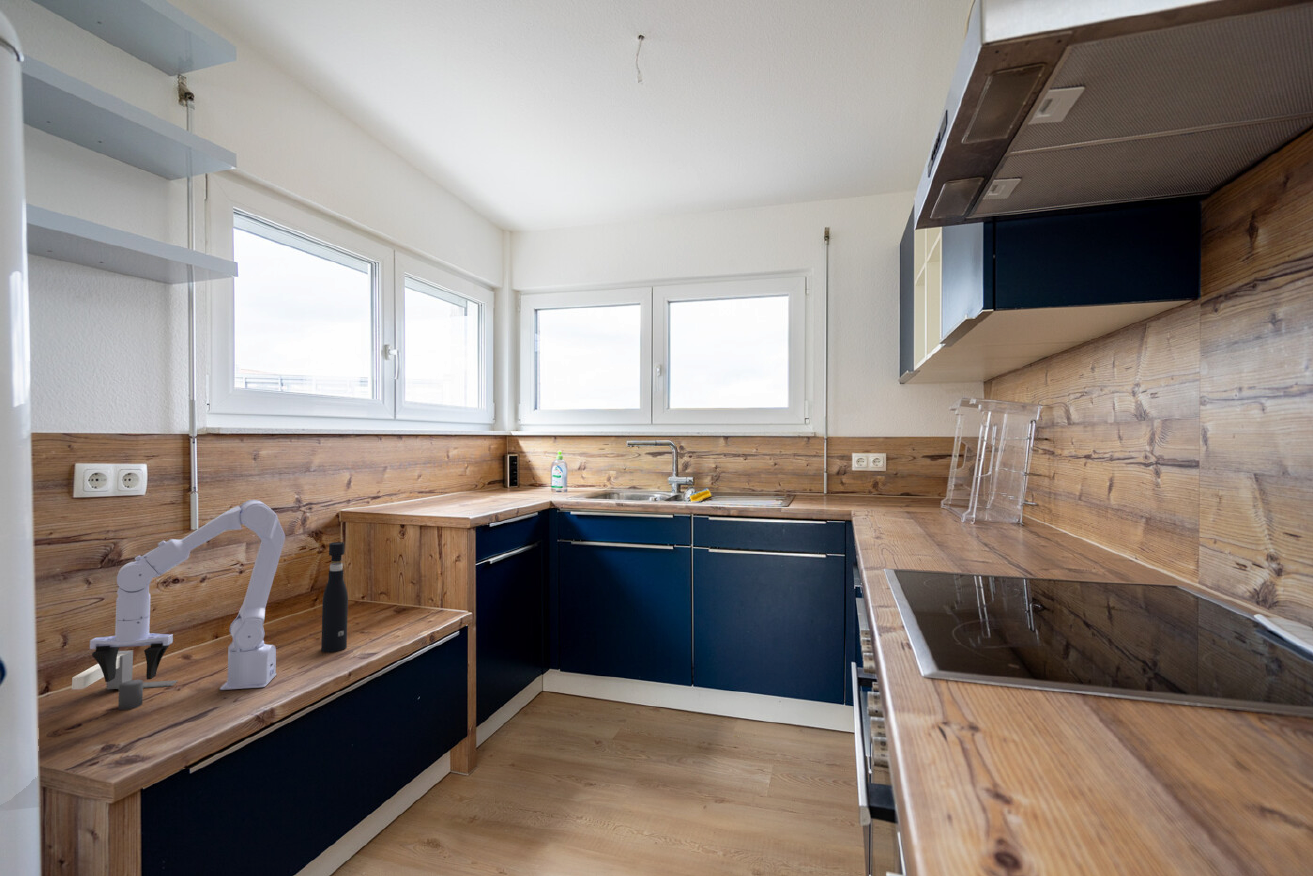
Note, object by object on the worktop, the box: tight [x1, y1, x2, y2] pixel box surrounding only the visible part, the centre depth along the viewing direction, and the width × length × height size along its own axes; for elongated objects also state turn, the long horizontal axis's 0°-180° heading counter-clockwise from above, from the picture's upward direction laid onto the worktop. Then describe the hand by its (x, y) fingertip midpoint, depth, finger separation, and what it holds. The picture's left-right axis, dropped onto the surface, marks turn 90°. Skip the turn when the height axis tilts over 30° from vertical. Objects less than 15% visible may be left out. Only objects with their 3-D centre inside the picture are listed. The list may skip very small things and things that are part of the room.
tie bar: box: [71, 649, 134, 690], centre depth 135 cm, size 3×16×8 cm, turn 14°
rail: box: [116, 679, 178, 691], centre depth 142 cm, size 11×2×1 cm, turn 104°
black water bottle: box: [320, 541, 349, 653], centre depth 170 cm, size 6×6×30 cm
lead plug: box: [117, 679, 144, 711], centre depth 132 cm, size 4×4×5 cm
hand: (130, 679), depth 132 cm, fingers open, 7 cm apart
